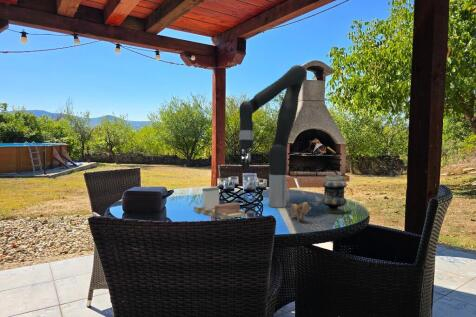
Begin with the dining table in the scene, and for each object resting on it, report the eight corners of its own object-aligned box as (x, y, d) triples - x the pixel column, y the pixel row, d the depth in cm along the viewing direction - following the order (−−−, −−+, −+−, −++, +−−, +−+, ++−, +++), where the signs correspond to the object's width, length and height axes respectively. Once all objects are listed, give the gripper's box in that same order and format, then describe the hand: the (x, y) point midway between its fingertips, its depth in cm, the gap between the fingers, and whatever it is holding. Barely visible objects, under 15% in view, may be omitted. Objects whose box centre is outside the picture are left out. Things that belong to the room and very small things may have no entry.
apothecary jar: (350, 213, 165) (351, 177, 164) (327, 215, 162) (328, 177, 161) (338, 208, 177) (339, 174, 175) (317, 209, 174) (317, 174, 173)
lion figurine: (312, 223, 147) (312, 202, 146) (302, 224, 145) (302, 203, 144) (293, 215, 160) (293, 197, 160) (283, 217, 158) (283, 197, 157)
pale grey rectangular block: (202, 208, 166) (202, 188, 166) (215, 206, 172) (215, 187, 171) (206, 209, 164) (206, 189, 164) (219, 207, 170) (219, 187, 169)
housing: (193, 211, 169) (193, 200, 168) (212, 208, 177) (212, 197, 176) (225, 220, 151) (225, 207, 151) (244, 216, 159) (244, 204, 159)
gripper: (250, 138, 174) (249, 170, 174) (255, 139, 188) (255, 169, 188) (236, 138, 176) (235, 169, 176) (242, 139, 190) (242, 168, 190)
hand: (245, 169), depth 182 cm, fingers open, 8 cm apart
